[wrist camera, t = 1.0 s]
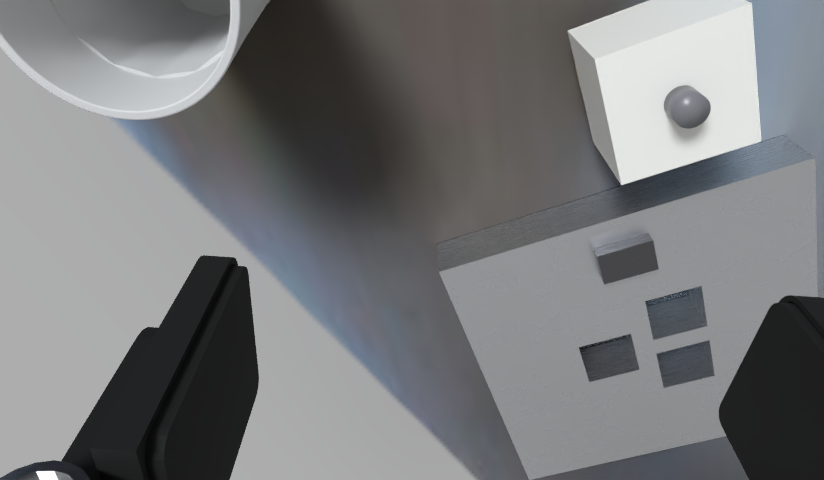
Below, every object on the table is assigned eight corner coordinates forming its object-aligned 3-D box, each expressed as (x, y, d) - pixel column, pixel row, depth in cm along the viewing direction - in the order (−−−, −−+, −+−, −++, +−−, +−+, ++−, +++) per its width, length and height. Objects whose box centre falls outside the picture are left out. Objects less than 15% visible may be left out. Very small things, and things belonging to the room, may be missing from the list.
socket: (783, 135, 32) (824, 164, 29) (795, 382, 42) (826, 424, 39) (437, 243, 36) (439, 280, 33) (523, 446, 46) (531, 489, 43)
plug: (685, -23, 28) (767, 9, 21) (699, 93, 31) (775, 152, 24) (560, 23, 29) (602, 67, 22) (586, 131, 32) (629, 197, 25)
